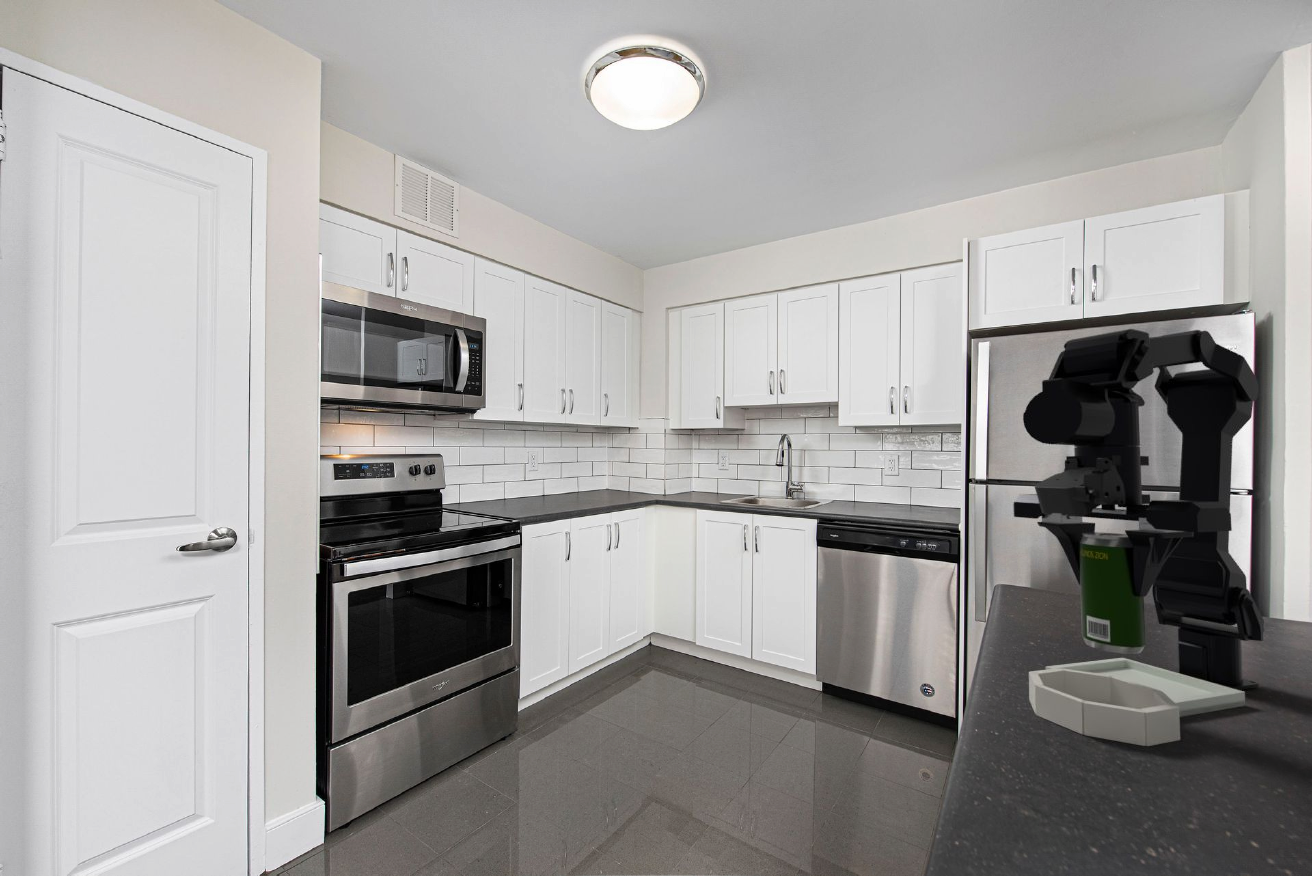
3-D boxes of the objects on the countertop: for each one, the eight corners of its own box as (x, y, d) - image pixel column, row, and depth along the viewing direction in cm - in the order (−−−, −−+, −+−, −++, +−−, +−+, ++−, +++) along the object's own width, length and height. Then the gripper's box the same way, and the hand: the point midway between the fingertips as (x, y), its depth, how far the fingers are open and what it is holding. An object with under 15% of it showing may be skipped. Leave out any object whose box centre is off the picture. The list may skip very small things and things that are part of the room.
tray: (1123, 669, 76) (1122, 657, 76) (1245, 705, 64) (1244, 691, 64) (1045, 679, 71) (1045, 666, 71) (1161, 720, 59) (1161, 705, 60)
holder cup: (1081, 692, 67) (1080, 665, 67) (1203, 735, 56) (1202, 703, 56) (1006, 702, 63) (1006, 674, 63) (1121, 751, 52) (1120, 716, 52)
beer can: (1134, 658, 59) (1129, 538, 59) (1073, 644, 63) (1069, 533, 64) (1153, 649, 62) (1149, 535, 62) (1094, 636, 66) (1090, 531, 67)
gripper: (977, 448, 70) (980, 579, 69) (1154, 441, 52) (1161, 617, 51) (1044, 450, 73) (1048, 574, 72) (1231, 444, 56) (1238, 608, 55)
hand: (1111, 590), depth 63 cm, fingers closed on beer can, 5 cm apart
